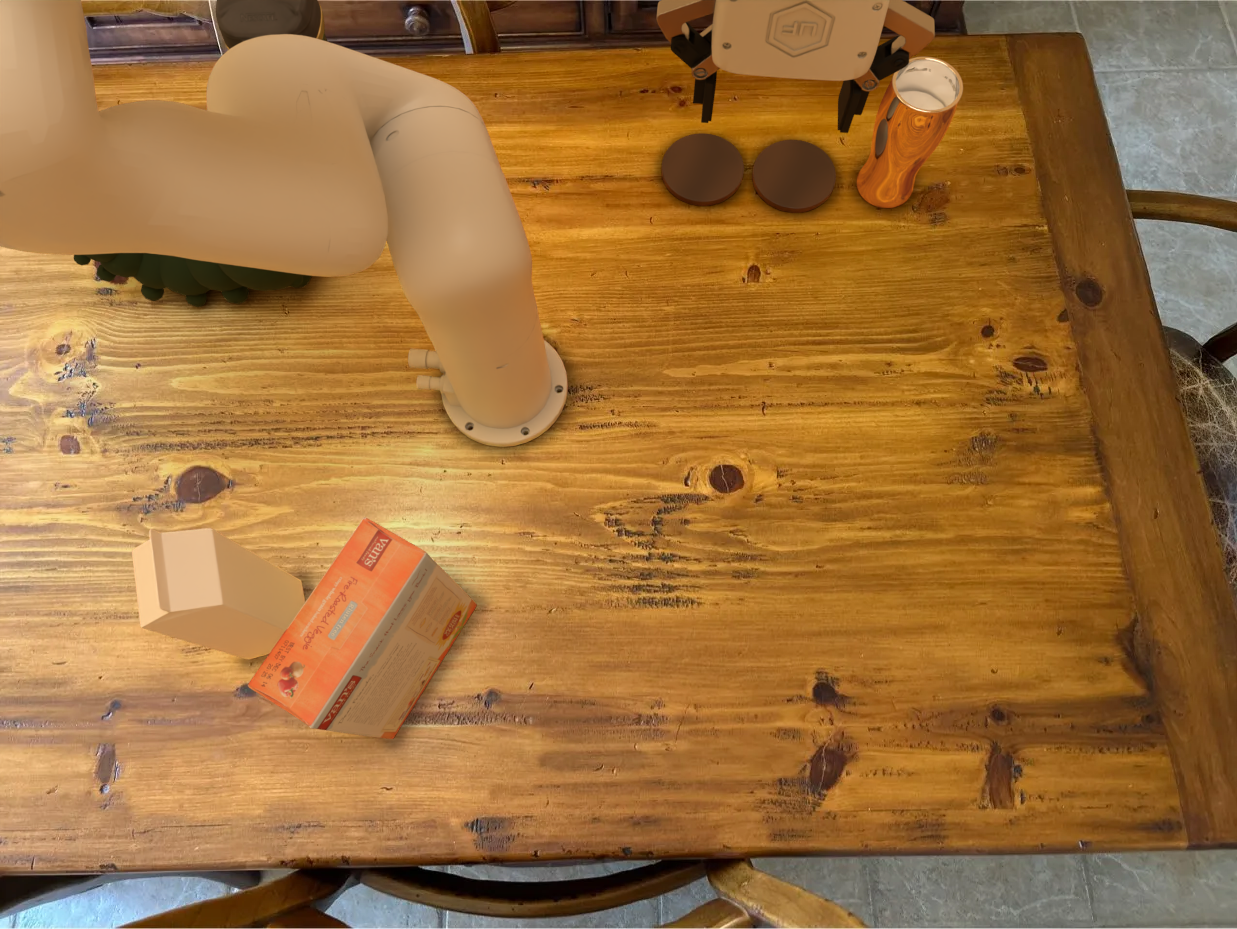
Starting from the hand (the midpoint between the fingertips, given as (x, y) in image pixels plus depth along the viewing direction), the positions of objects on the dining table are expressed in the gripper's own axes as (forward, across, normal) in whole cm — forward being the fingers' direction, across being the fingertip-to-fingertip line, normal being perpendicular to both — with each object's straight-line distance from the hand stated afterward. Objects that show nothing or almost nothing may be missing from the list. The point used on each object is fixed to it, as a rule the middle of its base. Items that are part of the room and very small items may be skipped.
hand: (774, 111), depth 63 cm
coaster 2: (+30, +6, +18) cm, 36 cm away
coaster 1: (+30, -4, +18) cm, 35 cm away
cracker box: (+31, -27, -37) cm, 55 cm away
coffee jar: (+31, -47, +20) cm, 59 cm away
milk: (+31, -40, -35) cm, 61 cm away
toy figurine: (+31, -52, 0) cm, 60 cm away
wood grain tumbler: (+30, +16, +18) cm, 39 cm away
